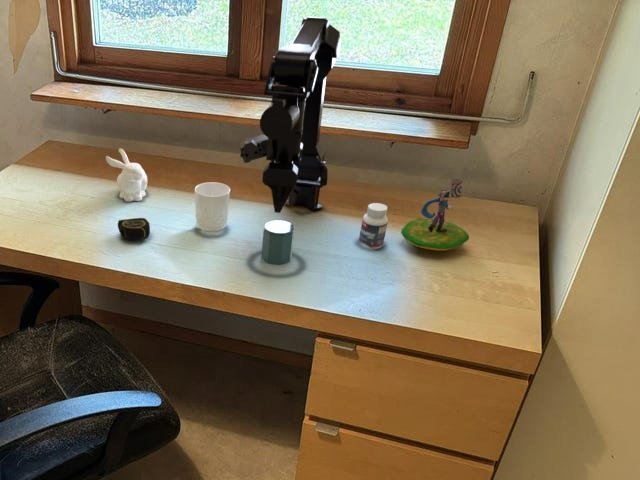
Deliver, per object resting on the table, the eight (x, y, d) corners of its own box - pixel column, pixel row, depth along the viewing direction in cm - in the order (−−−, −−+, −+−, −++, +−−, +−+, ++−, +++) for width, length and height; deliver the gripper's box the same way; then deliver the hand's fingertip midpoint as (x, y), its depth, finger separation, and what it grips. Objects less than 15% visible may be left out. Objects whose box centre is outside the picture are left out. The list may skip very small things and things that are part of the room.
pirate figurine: (398, 256, 146) (412, 189, 137) (398, 229, 156) (411, 166, 147) (467, 263, 143) (486, 195, 134) (463, 236, 153) (480, 171, 144)
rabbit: (144, 205, 169) (142, 157, 162) (106, 204, 170) (103, 157, 163) (150, 185, 179) (149, 140, 172) (114, 184, 180) (111, 139, 173)
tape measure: (147, 229, 159) (146, 214, 156) (152, 243, 153) (152, 227, 151) (118, 232, 158) (117, 217, 156) (122, 246, 152) (121, 230, 150)
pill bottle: (353, 243, 151) (359, 205, 146) (368, 236, 154) (375, 199, 148) (372, 252, 148) (379, 214, 143) (388, 245, 150) (395, 207, 145)
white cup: (226, 239, 154) (228, 197, 148) (191, 236, 155) (191, 195, 149) (230, 224, 160) (232, 183, 154) (197, 221, 162) (197, 180, 155)
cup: (279, 247, 147) (282, 217, 143) (296, 259, 143) (300, 229, 139) (256, 254, 145) (258, 224, 141) (272, 266, 141) (275, 235, 137)
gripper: (250, 107, 137) (245, 183, 146) (237, 136, 122) (232, 218, 131) (307, 110, 135) (298, 187, 144) (300, 140, 120) (291, 223, 129)
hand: (279, 203), depth 137 cm, fingers open, 9 cm apart
